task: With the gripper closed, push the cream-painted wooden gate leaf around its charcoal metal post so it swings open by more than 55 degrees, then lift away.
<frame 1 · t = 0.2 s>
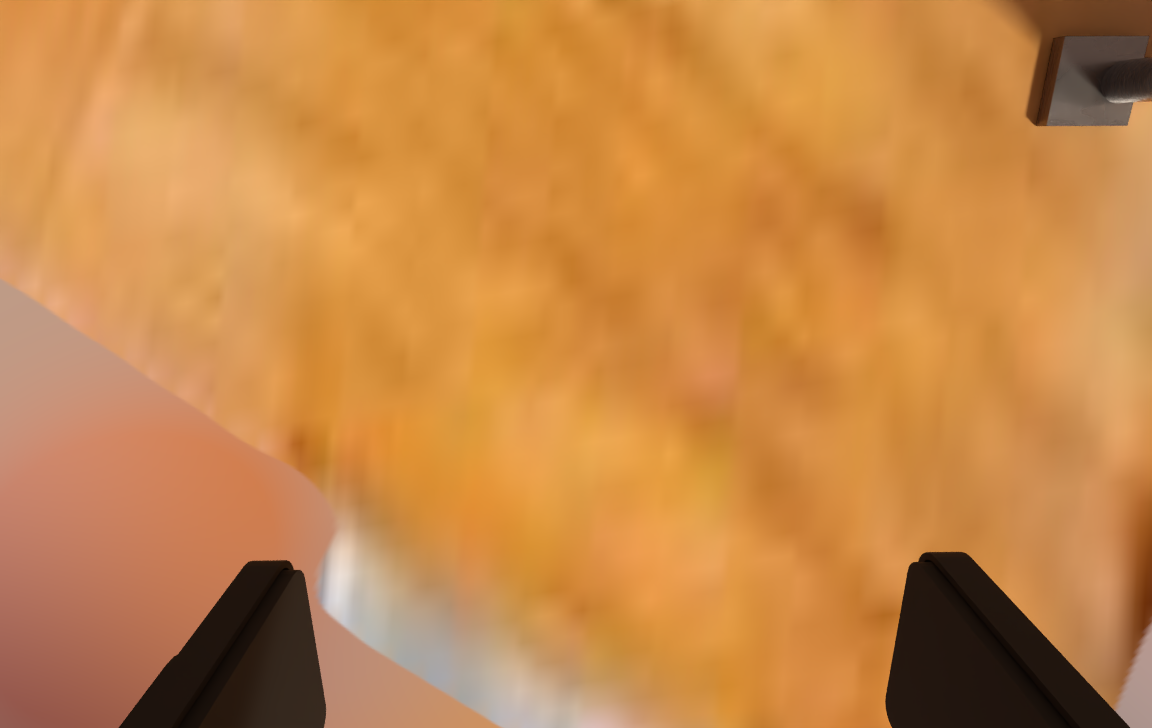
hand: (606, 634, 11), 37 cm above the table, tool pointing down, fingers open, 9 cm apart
gate post: (1109, 82, 42), on the table
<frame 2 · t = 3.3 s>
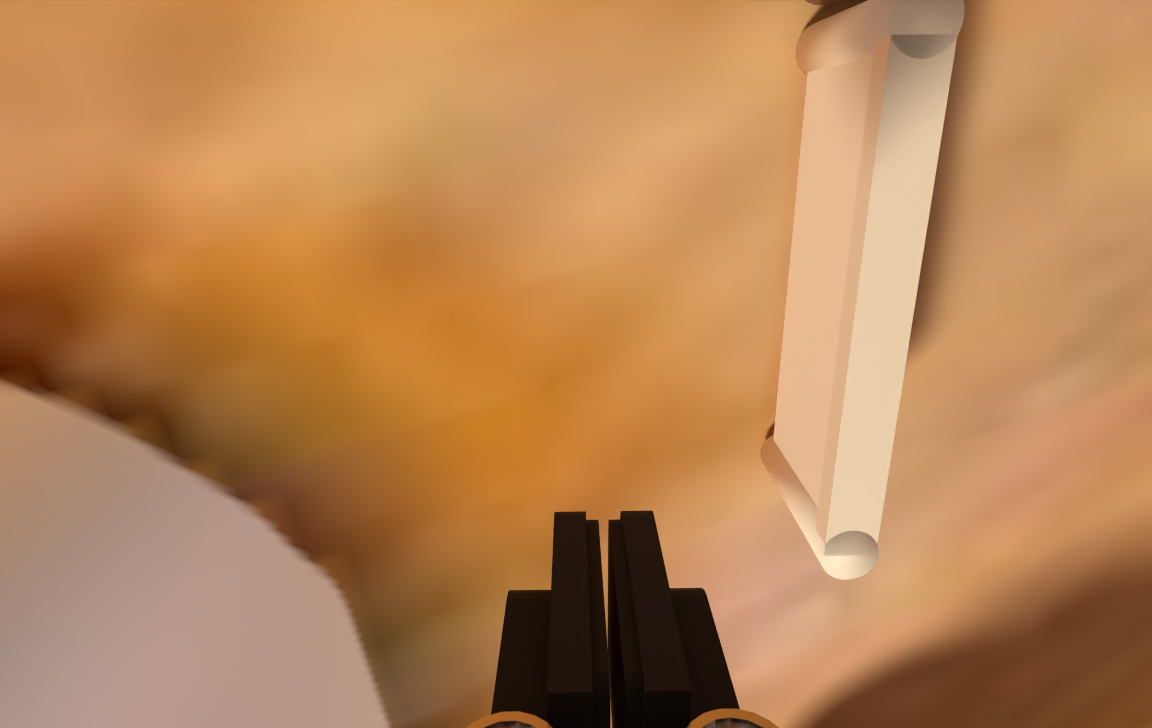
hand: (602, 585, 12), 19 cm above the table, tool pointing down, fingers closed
gate leaf: (835, 292, 25), point 5 cm above the table, hinge at 0.0°
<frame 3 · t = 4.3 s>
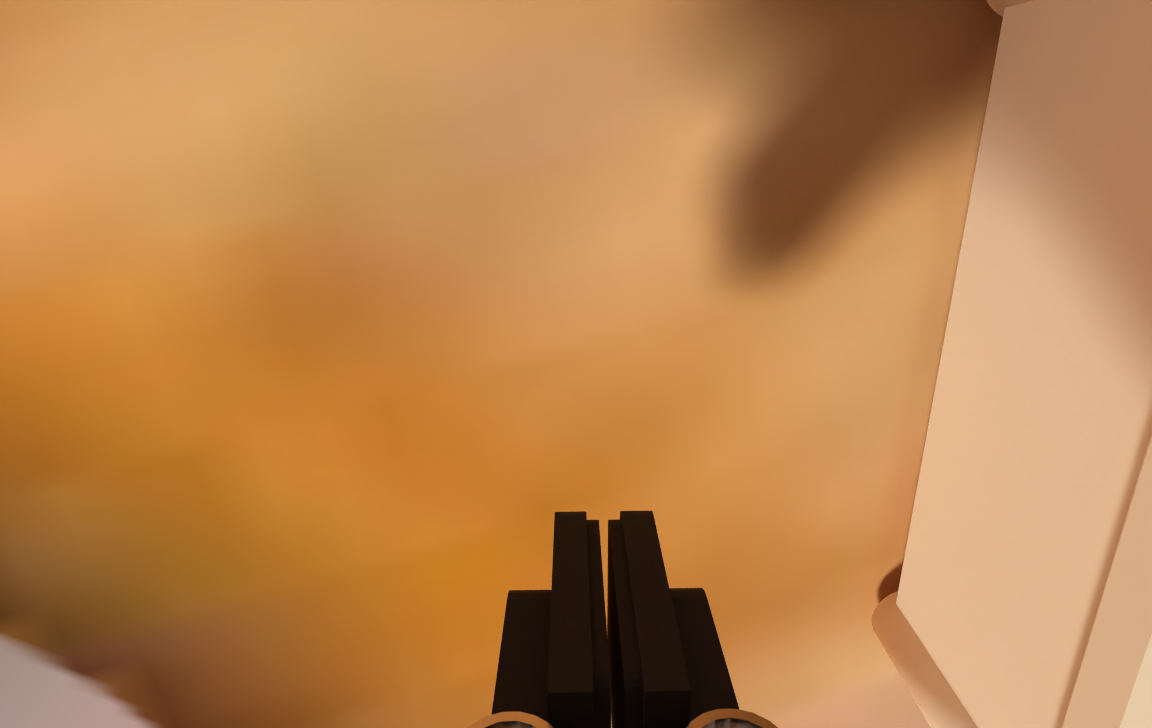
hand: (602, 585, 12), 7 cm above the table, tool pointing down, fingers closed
gate leaf: (1064, 410, 13), point 5 cm above the table, hinge at 0.0°
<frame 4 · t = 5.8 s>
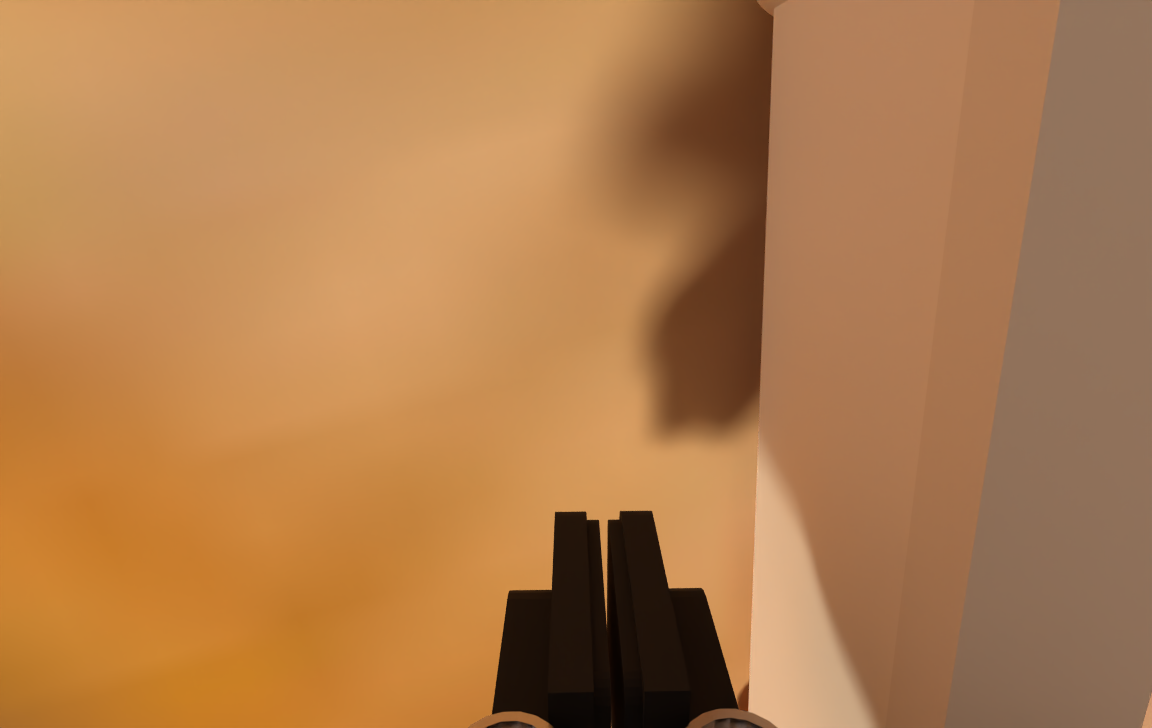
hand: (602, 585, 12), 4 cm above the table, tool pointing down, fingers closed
gate leaf: (861, 534, 10), point 5 cm above the table, hinge at 2.0°, touching gripper
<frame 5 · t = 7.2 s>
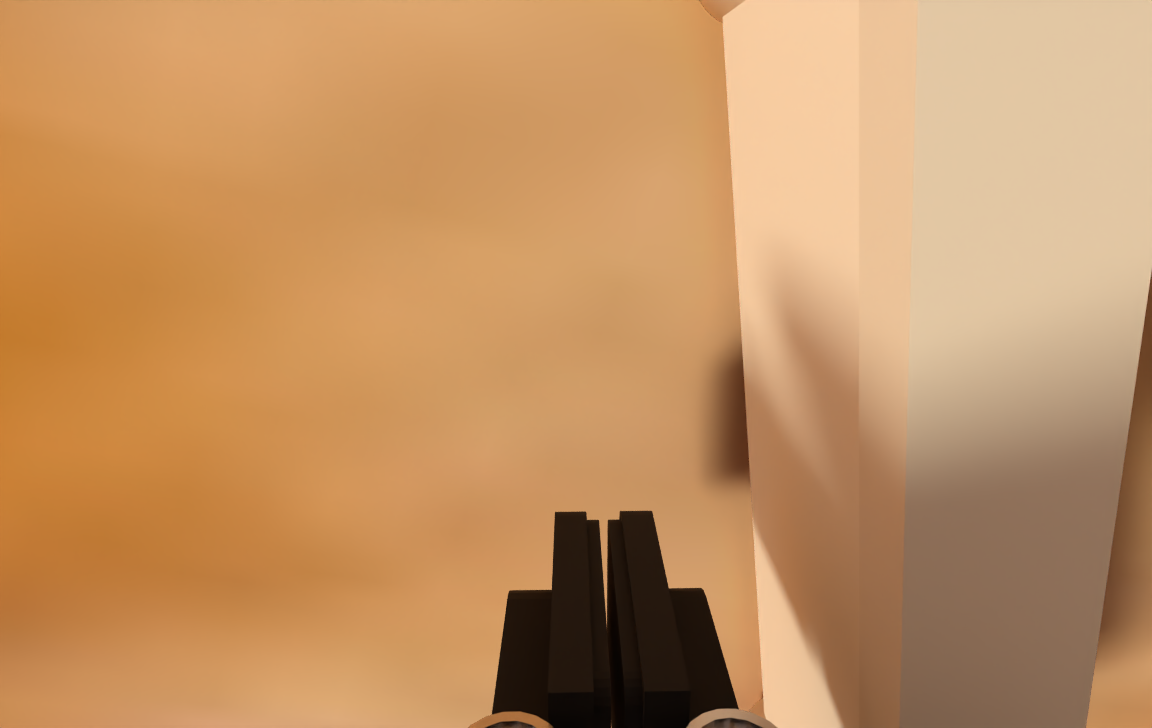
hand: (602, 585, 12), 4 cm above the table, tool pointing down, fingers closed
gate leaf: (841, 521, 10), point 5 cm above the table, hinge at 36.9°, touching gripper
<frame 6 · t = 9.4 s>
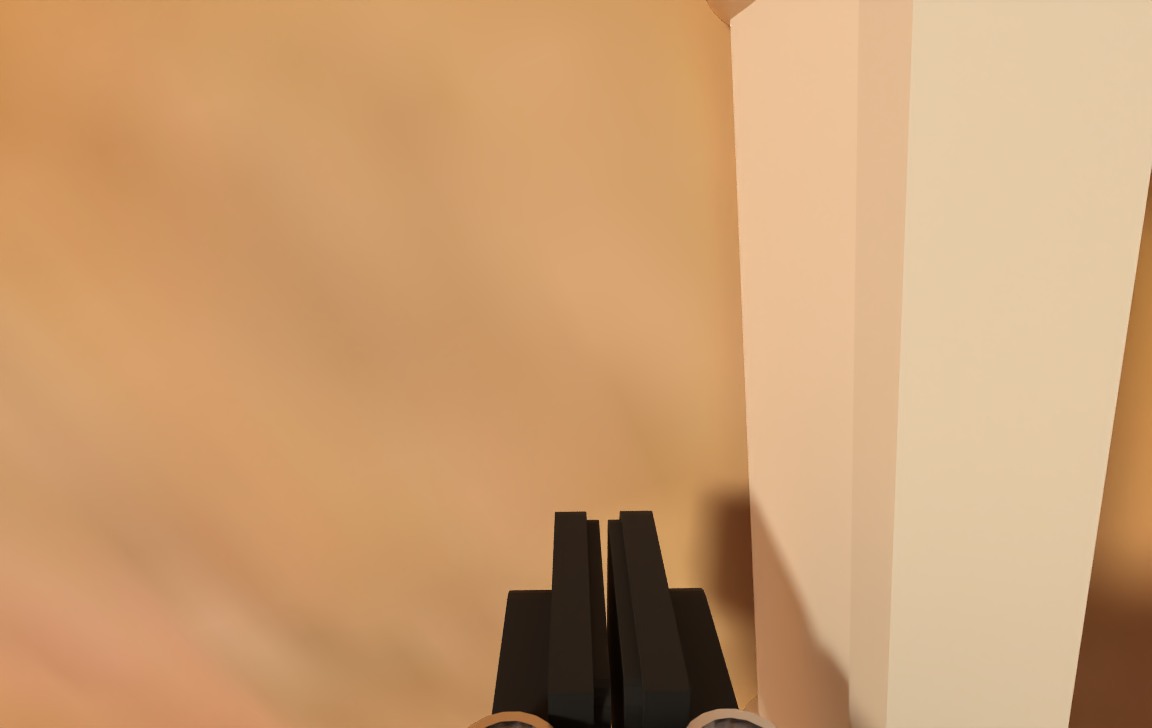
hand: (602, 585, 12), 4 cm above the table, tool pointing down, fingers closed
gate leaf: (837, 516, 11), point 5 cm above the table, hinge at 86.1°, touching gripper
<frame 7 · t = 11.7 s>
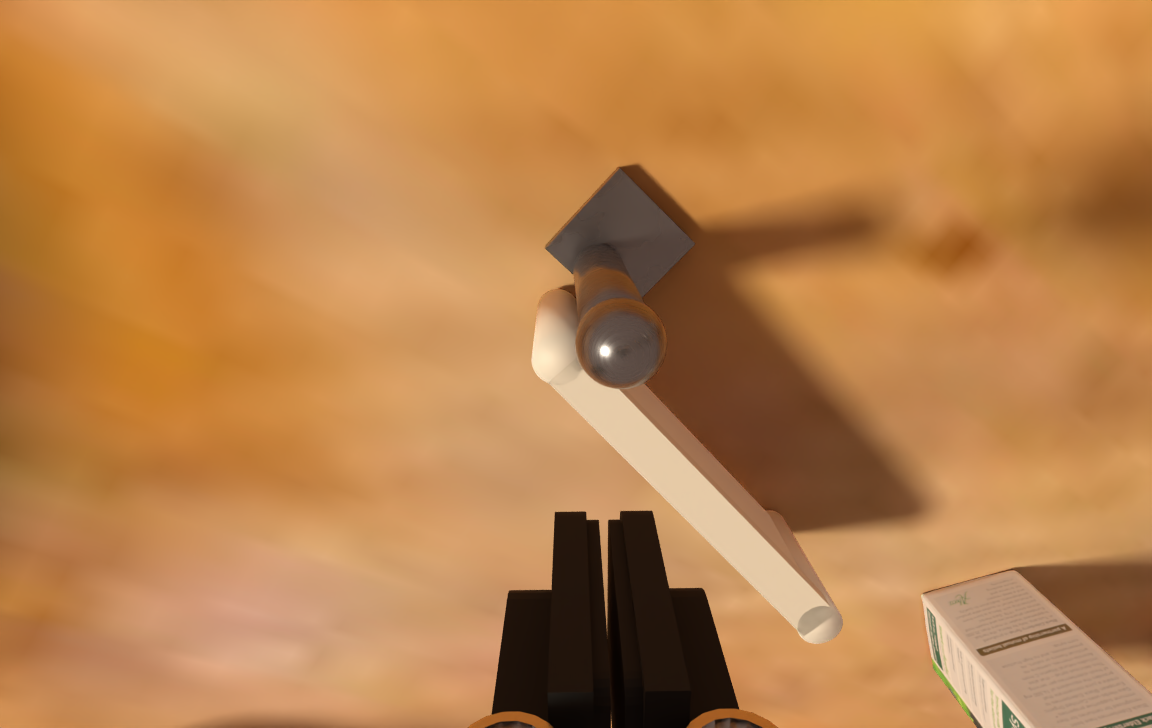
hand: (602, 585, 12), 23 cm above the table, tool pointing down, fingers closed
gate leaf: (682, 458, 32), point 5 cm above the table, hinge at 86.2°
syrup box: (971, 614, 41), on the table
gate post: (597, 265, 33), on the table
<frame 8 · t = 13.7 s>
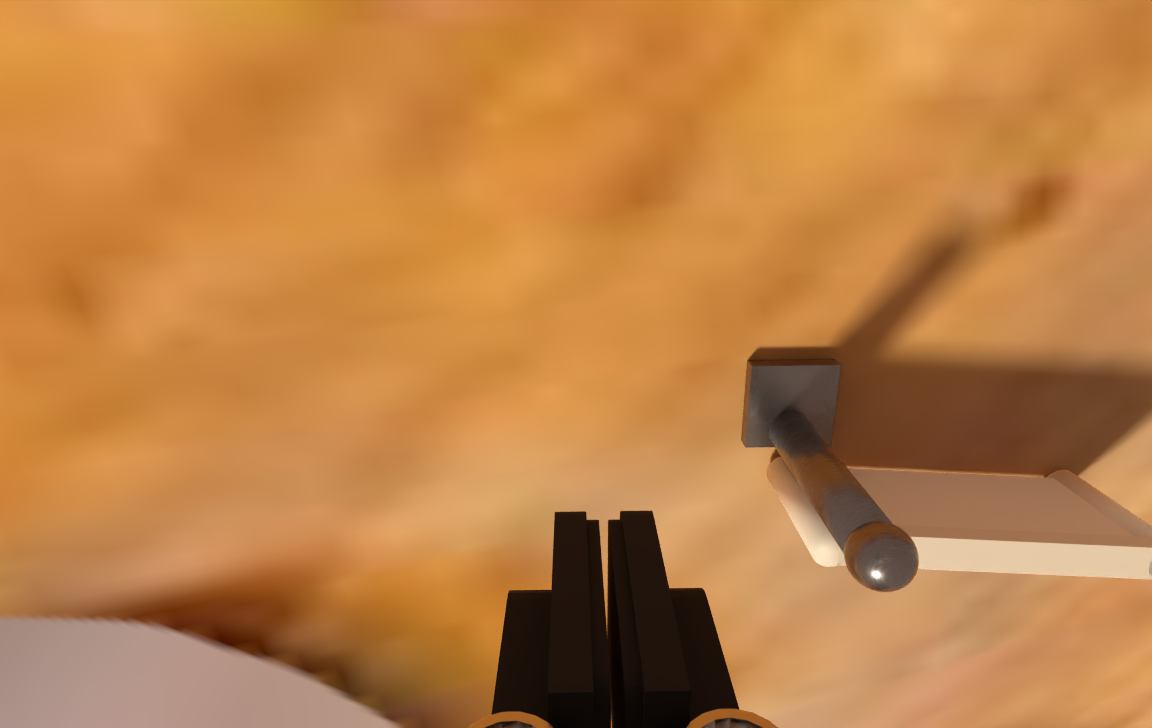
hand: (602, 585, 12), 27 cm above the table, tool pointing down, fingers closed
gate leaf: (958, 513, 37), point 5 cm above the table, hinge at 86.2°
gate post: (784, 424, 40), on the table
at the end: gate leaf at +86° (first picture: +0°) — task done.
